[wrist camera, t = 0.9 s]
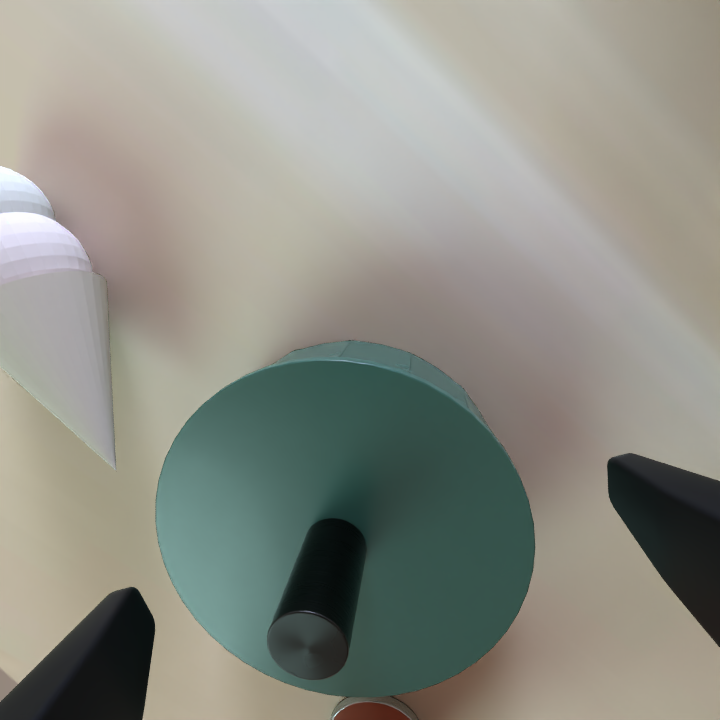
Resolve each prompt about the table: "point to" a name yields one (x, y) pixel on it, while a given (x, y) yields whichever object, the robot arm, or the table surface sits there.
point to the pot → (389, 358)
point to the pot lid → (345, 527)
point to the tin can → (372, 709)
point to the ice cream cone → (54, 316)
